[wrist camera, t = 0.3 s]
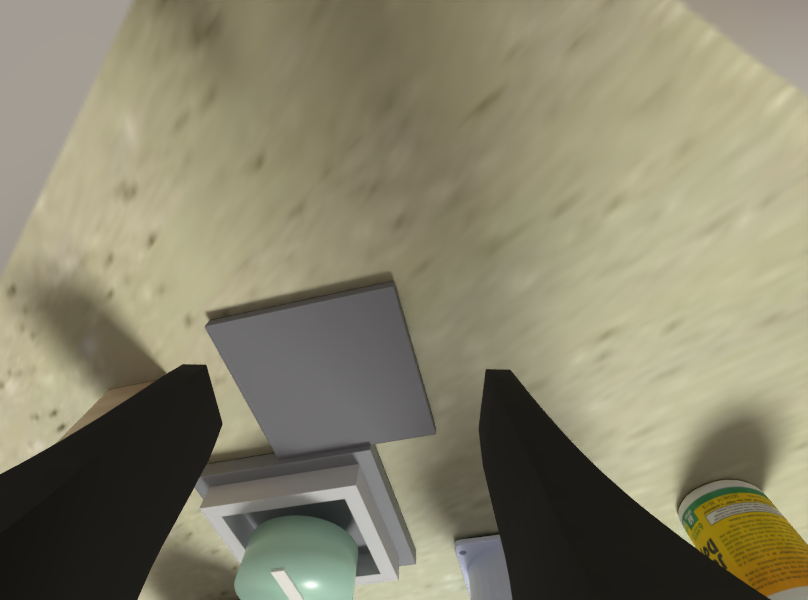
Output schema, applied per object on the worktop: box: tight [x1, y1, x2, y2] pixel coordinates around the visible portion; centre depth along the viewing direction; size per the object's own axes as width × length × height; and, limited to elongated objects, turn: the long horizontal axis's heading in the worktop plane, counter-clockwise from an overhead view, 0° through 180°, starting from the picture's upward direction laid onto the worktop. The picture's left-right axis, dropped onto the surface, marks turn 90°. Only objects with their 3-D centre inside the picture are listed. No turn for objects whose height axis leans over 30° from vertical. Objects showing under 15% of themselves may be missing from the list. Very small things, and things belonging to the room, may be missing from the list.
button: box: [234, 515, 358, 600], centre depth 25 cm, size 7×7×3 cm
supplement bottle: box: [678, 480, 808, 600], centre depth 23 cm, size 5×5×10 cm
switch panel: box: [195, 444, 416, 585], centre depth 28 cm, size 12×12×2 cm
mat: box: [205, 281, 436, 460], centre depth 23 cm, size 10×10×1 cm
